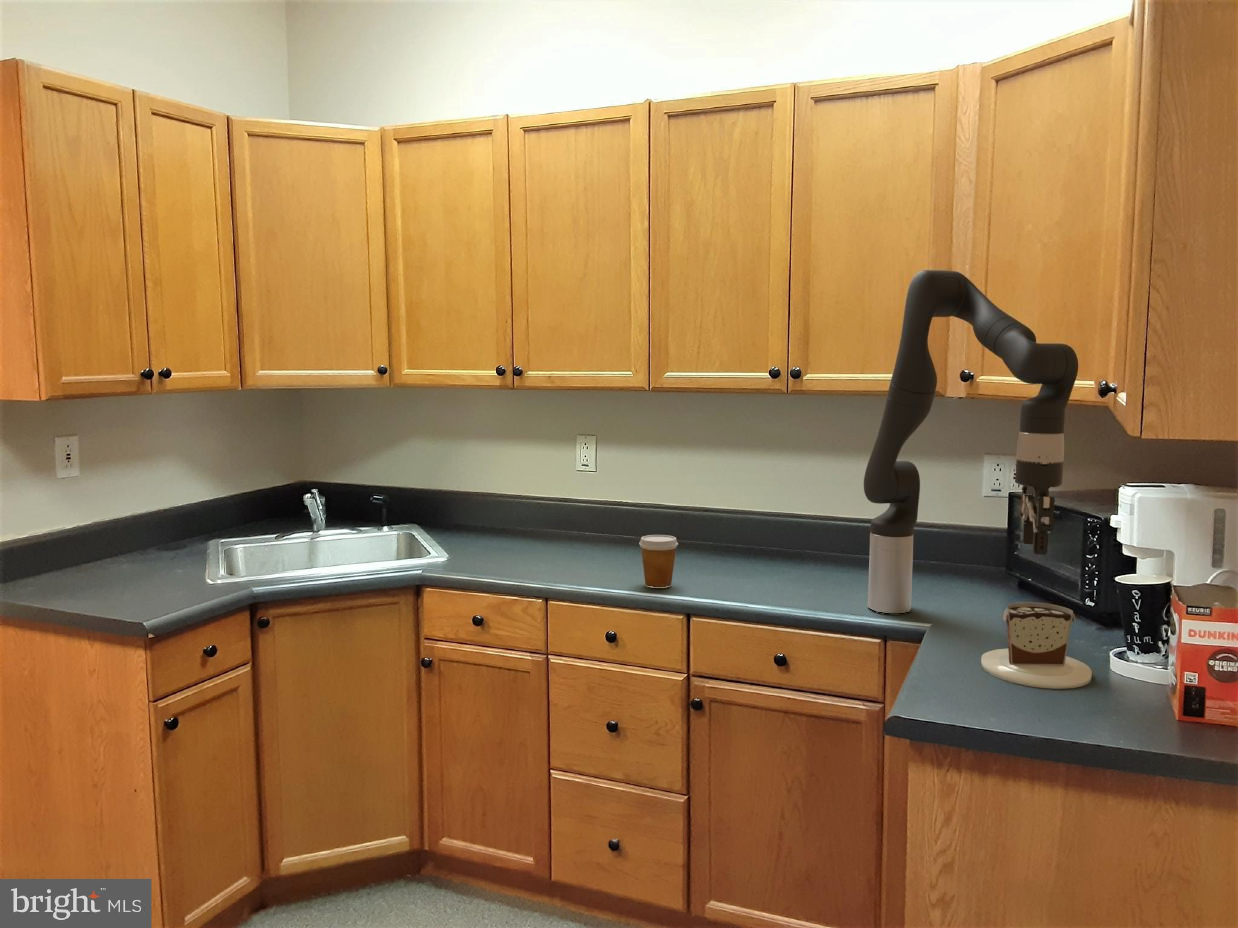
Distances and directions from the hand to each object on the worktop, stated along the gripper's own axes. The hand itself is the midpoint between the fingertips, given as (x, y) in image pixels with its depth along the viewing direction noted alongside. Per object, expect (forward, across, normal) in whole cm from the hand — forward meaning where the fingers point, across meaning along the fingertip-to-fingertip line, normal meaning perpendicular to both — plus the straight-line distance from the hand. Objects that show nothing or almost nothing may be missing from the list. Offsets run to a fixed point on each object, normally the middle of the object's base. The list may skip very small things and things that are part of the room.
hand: (1034, 548), depth 162 cm
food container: (+21, -1, +1) cm, 21 cm away
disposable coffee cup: (+23, -44, -76) cm, 91 cm away
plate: (+22, +1, +1) cm, 22 cm away
